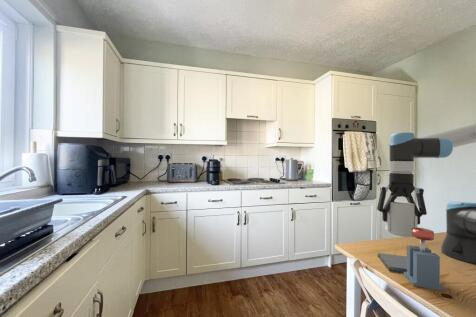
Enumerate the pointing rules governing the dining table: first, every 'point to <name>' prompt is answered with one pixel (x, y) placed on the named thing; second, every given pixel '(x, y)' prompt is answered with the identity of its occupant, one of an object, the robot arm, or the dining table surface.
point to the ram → (422, 236)
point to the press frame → (423, 268)
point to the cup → (401, 218)
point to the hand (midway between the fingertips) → (400, 231)
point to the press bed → (394, 262)
